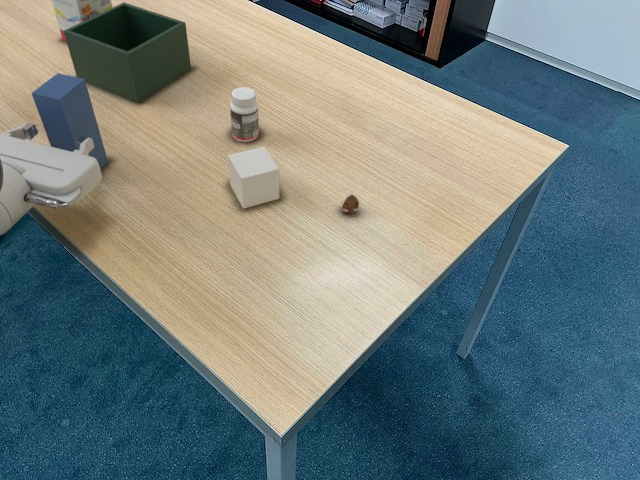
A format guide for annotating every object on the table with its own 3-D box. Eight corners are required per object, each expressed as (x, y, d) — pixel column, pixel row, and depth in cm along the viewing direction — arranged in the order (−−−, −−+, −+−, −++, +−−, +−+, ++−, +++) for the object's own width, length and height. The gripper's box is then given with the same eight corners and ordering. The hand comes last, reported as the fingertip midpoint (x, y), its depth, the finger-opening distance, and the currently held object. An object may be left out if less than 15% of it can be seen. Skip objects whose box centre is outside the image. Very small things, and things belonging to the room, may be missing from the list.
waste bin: (77, 79, 107) (63, 30, 100) (133, 48, 116) (123, 2, 109) (138, 103, 102) (128, 54, 95) (191, 69, 112) (185, 22, 105)
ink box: (89, 51, 114) (74, -6, 106) (61, 40, 117) (44, -17, 109) (120, 37, 120) (108, -19, 111) (92, 26, 122) (78, -29, 114)
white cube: (243, 209, 83) (241, 178, 79) (230, 185, 87) (227, 155, 83) (279, 198, 85) (279, 168, 81) (265, 176, 89) (264, 146, 85)
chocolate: (348, 220, 83) (351, 200, 80) (338, 212, 84) (340, 193, 81) (361, 211, 84) (364, 192, 82) (351, 204, 85) (353, 184, 83)
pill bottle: (228, 130, 97) (224, 88, 91) (252, 124, 99) (251, 83, 93) (237, 145, 95) (235, 103, 89) (263, 138, 96) (261, 97, 90)
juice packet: (62, 177, 86) (31, 93, 75) (84, 155, 90) (57, 72, 80) (87, 183, 86) (59, 99, 75) (108, 161, 90) (84, 78, 79)
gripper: (58, 192, 67) (119, 131, 76) (-81, 155, 70) (-6, 101, 80) (72, 228, 71) (128, 166, 81) (-59, 192, 75) (9, 136, 84)
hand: (60, 133), depth 80 cm, fingers open, 8 cm apart
